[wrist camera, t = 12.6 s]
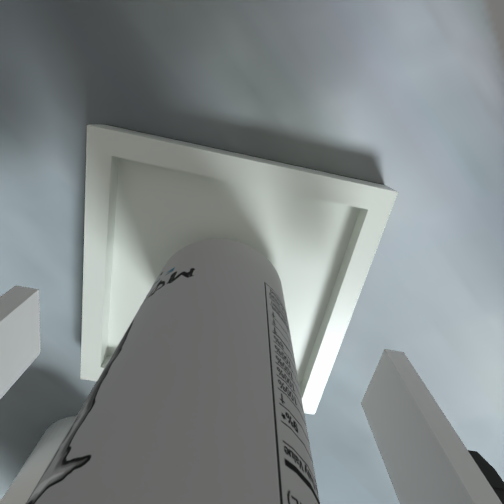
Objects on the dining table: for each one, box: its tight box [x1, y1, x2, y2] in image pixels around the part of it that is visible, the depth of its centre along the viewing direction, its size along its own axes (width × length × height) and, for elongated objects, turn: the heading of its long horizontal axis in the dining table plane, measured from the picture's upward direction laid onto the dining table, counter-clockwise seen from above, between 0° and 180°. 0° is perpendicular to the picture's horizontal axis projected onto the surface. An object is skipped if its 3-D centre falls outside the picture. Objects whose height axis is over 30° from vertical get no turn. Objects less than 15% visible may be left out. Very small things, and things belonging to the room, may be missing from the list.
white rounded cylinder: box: [0, 416, 76, 504], centre depth 20 cm, size 6×6×5 cm
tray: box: [81, 124, 398, 415], centre depth 17 cm, size 13×13×2 cm
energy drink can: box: [26, 238, 320, 504], centre depth 10 cm, size 6×6×15 cm
